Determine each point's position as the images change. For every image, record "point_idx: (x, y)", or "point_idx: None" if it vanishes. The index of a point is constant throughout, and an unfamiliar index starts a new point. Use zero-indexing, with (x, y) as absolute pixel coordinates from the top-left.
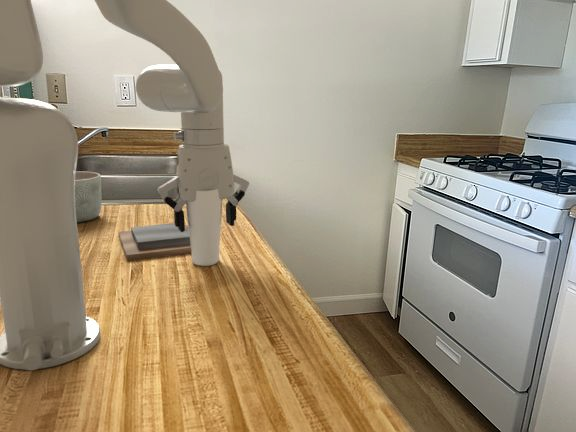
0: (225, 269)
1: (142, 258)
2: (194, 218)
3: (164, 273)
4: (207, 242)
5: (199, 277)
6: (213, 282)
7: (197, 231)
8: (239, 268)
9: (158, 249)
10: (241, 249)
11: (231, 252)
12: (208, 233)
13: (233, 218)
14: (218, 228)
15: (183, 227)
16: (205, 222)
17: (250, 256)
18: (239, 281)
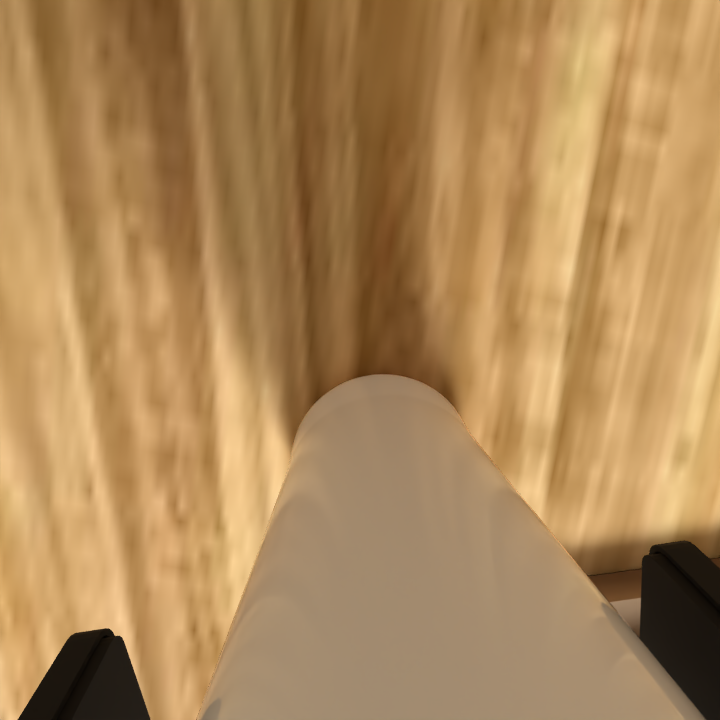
0: (270, 302)
1: (717, 561)
2: (638, 642)
3: (650, 321)
4: (396, 432)
5: (457, 202)
6: (380, 85)
7: (520, 507)
8: (174, 299)
9: (639, 624)
10: (134, 605)
11: (201, 570)
12: (396, 474)
13: (32, 712)
14: (270, 553)
15: (691, 572)
16: (460, 555)
17: (83, 487)
18: (197, 54)
